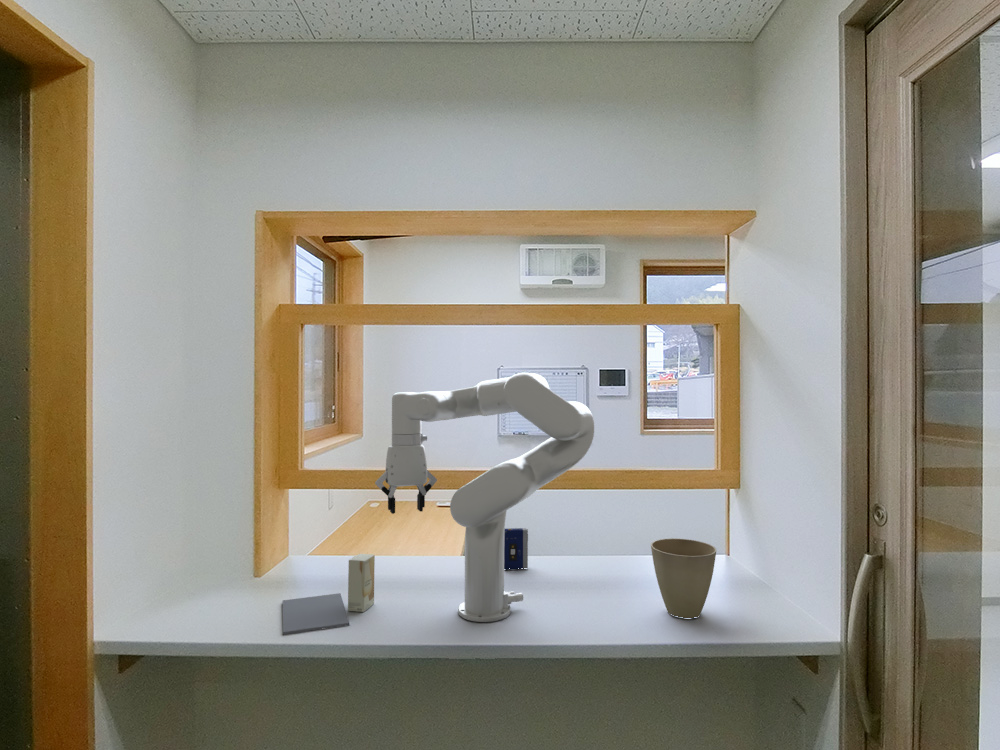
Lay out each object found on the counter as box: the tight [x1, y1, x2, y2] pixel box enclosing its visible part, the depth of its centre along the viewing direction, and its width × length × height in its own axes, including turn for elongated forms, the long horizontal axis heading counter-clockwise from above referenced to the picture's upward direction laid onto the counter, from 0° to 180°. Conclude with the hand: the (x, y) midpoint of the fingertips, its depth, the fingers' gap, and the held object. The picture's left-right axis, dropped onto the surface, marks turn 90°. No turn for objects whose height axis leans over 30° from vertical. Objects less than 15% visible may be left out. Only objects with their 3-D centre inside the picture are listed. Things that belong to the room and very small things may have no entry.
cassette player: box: [504, 527, 529, 569], centre depth 169 cm, size 7×2×12 cm, turn 95°
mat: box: [282, 592, 350, 636], centre depth 135 cm, size 14×20×1 cm
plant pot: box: [650, 537, 717, 618], centre depth 135 cm, size 15×15×16 cm
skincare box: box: [347, 553, 376, 613], centre depth 139 cm, size 6×4×12 cm
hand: (406, 510), depth 143 cm, fingers open, 6 cm apart
